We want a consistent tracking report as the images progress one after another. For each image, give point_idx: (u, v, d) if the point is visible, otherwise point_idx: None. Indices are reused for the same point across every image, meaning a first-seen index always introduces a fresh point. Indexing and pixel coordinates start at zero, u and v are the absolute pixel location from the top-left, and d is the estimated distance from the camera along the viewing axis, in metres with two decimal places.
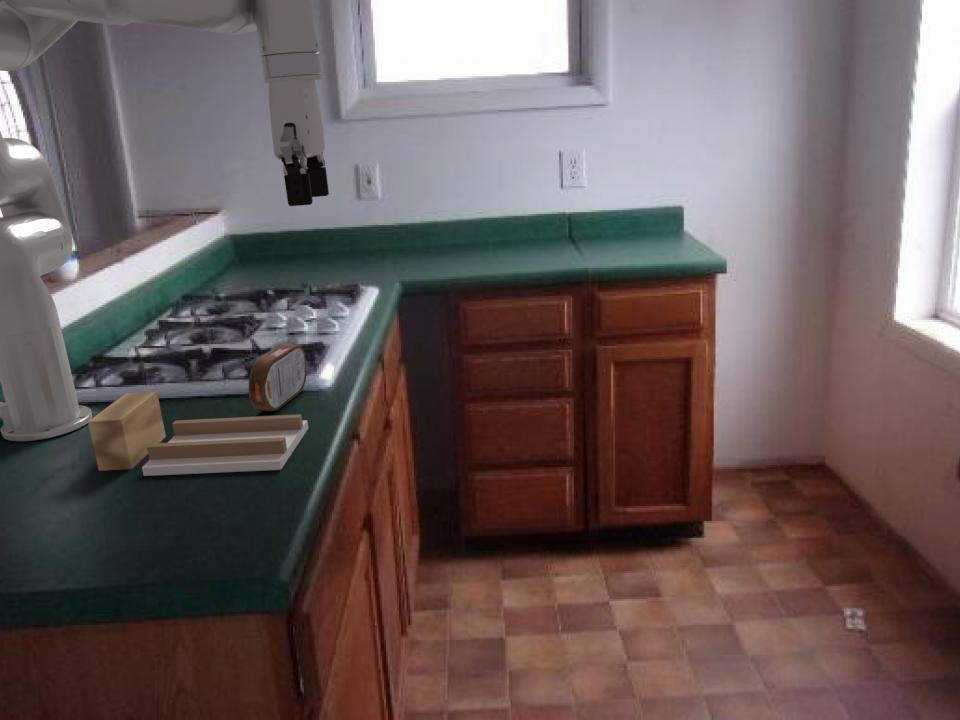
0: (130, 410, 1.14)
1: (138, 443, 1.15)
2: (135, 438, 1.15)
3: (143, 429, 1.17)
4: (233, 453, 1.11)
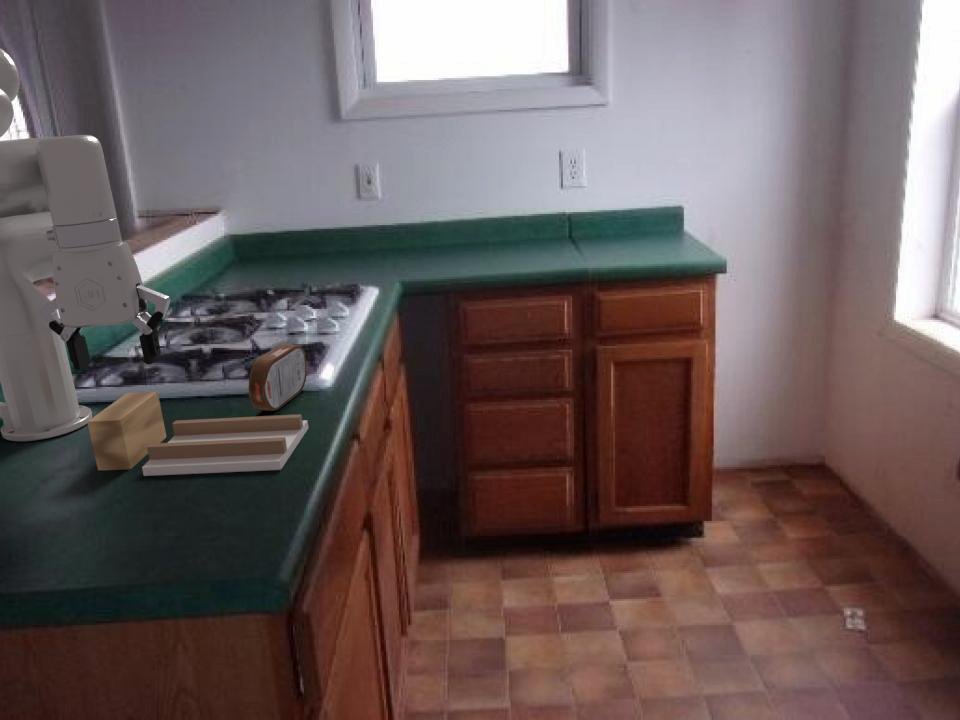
0: (129, 410, 1.14)
1: (137, 443, 1.15)
2: (135, 439, 1.15)
3: (143, 429, 1.17)
4: (233, 453, 1.11)
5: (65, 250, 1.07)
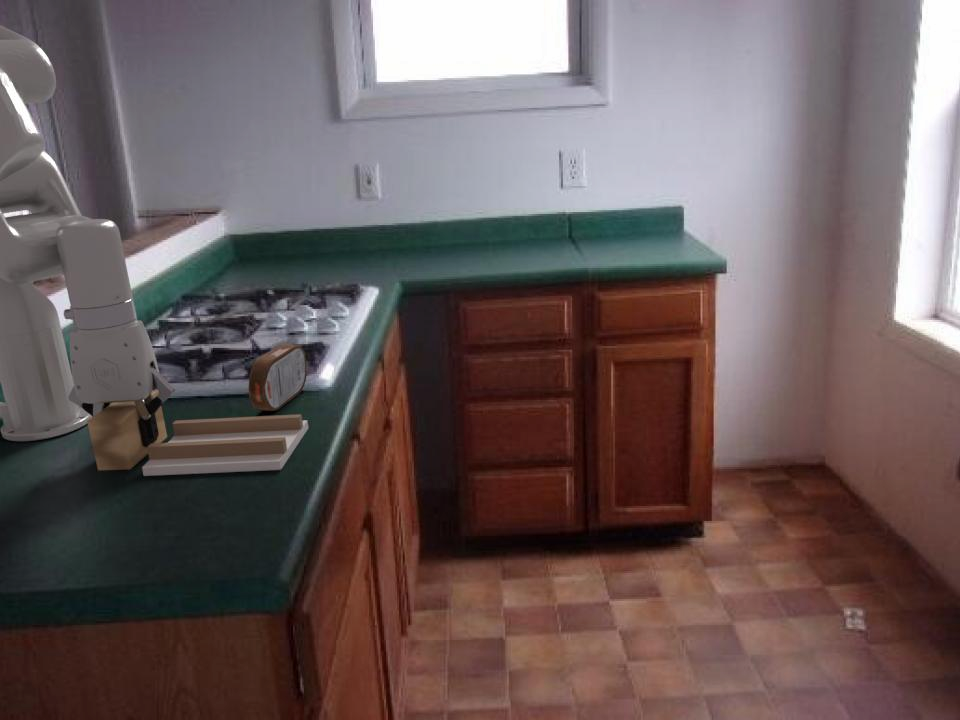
0: (129, 410, 1.14)
1: (137, 442, 1.15)
2: (134, 438, 1.14)
3: None
4: (233, 453, 1.11)
5: (82, 331, 1.10)
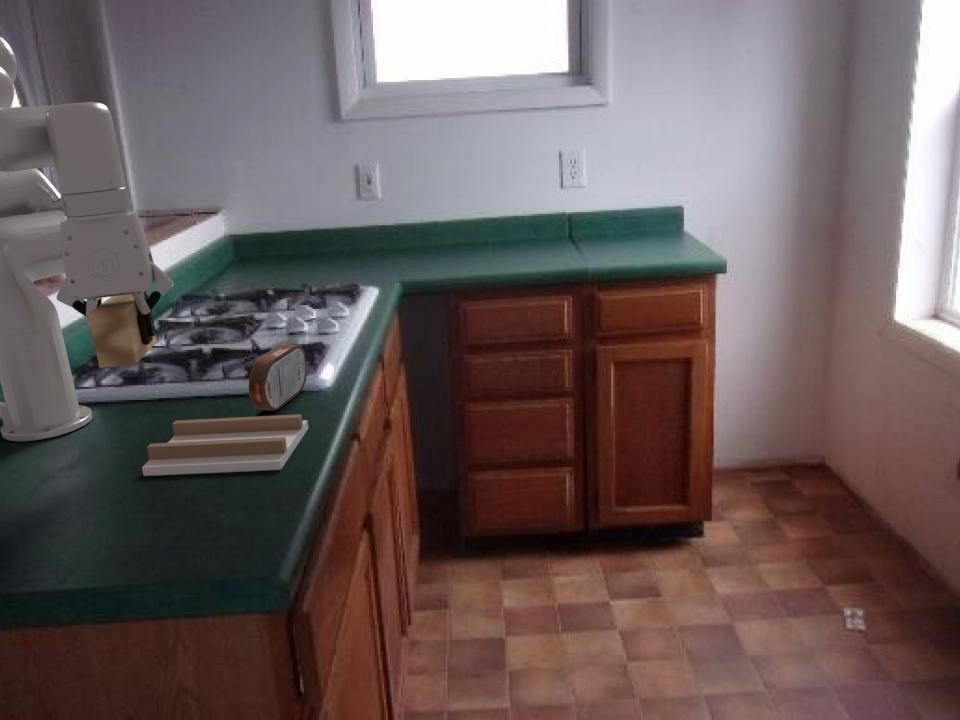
0: (129, 304, 1.10)
1: (138, 338, 1.11)
2: (136, 333, 1.10)
3: None
4: (233, 453, 1.11)
5: (79, 219, 1.05)
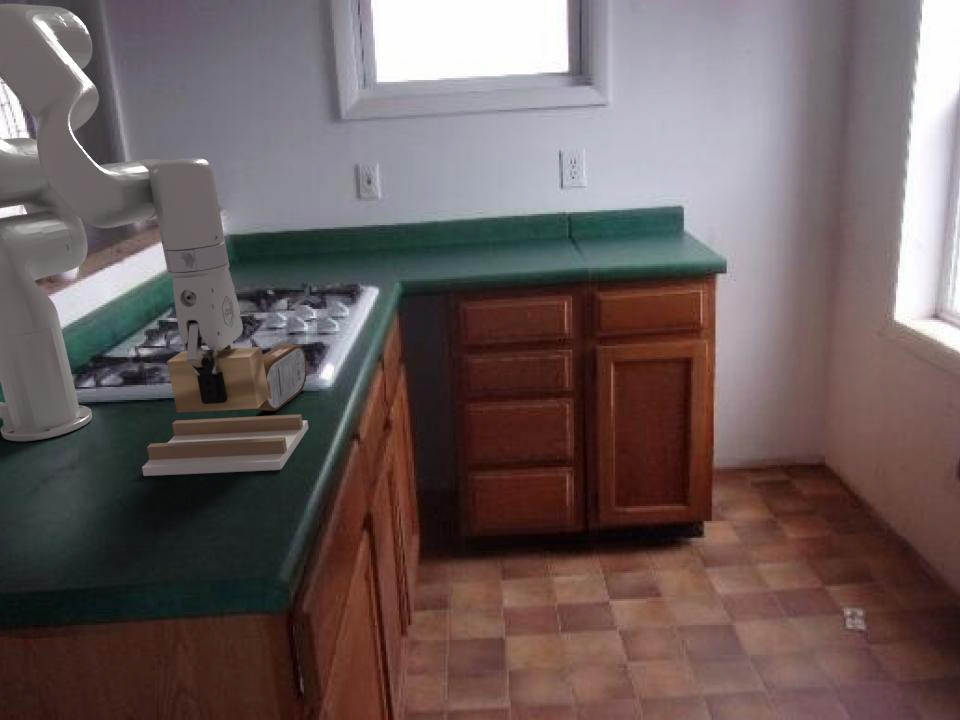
0: (234, 349, 1.14)
1: None
2: None
3: None
4: (233, 453, 1.11)
5: (220, 268, 1.07)
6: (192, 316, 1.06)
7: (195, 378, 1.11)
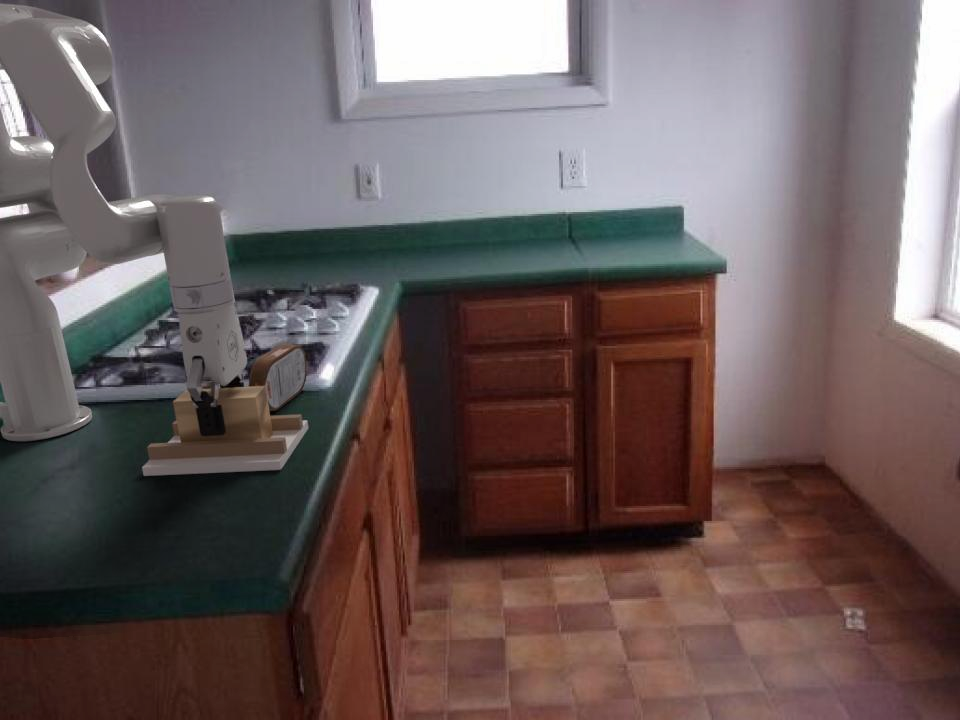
0: (239, 388, 1.16)
1: None
2: None
3: None
4: (233, 453, 1.11)
5: (226, 305, 1.09)
6: (198, 352, 1.07)
7: None
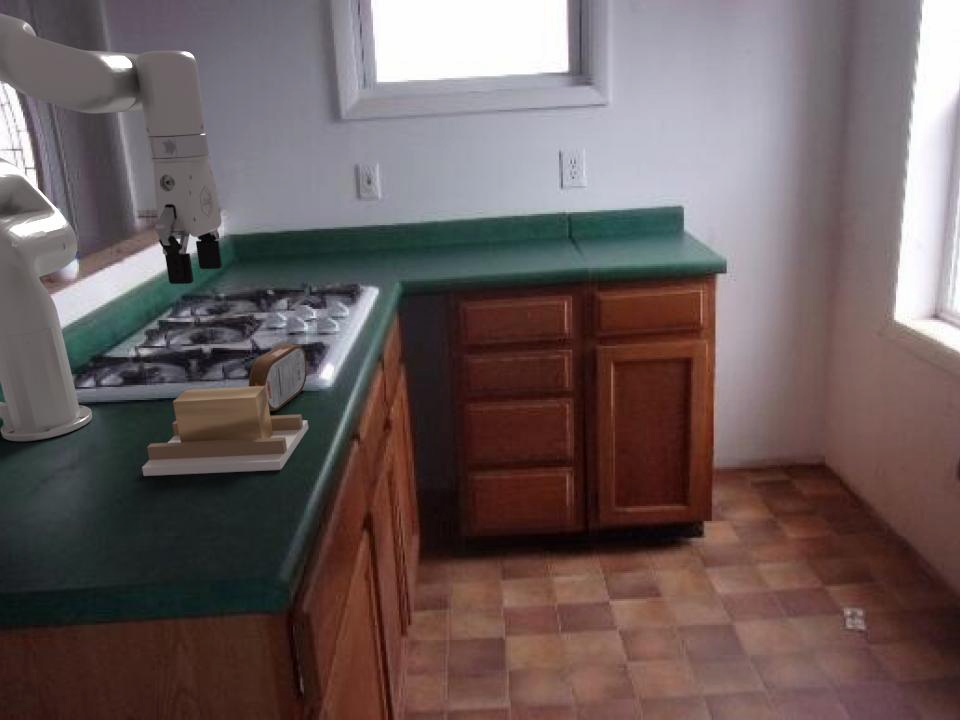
0: (239, 388, 1.16)
1: None
2: None
3: None
4: (233, 453, 1.11)
5: (200, 158, 1.13)
6: (170, 200, 1.12)
7: (201, 418, 1.13)
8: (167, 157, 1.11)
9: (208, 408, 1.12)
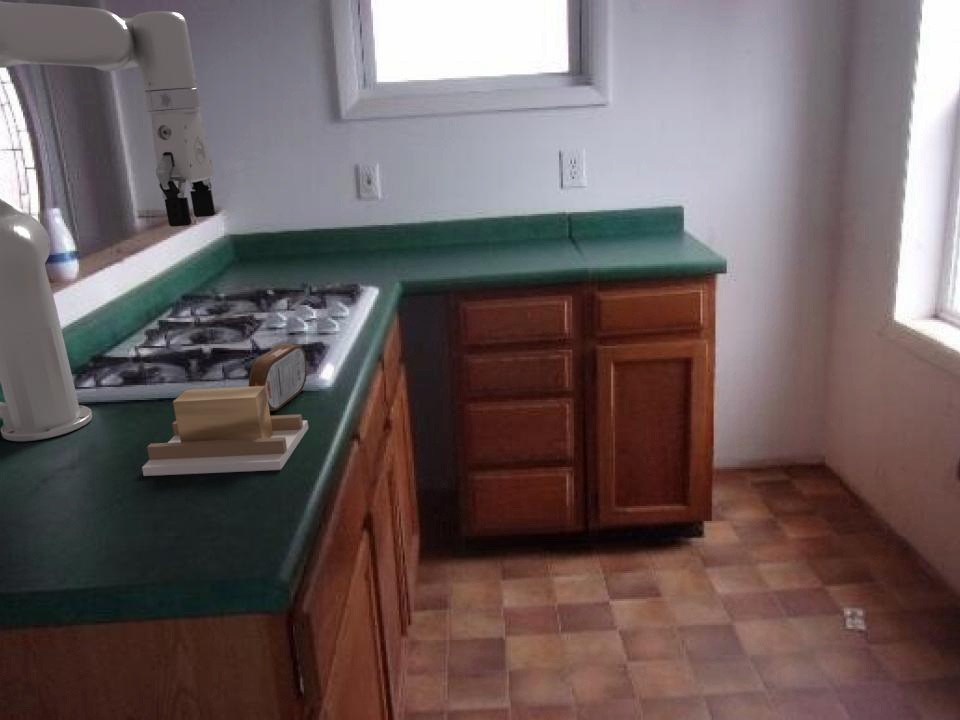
0: (239, 388, 1.16)
1: None
2: None
3: None
4: (233, 453, 1.11)
5: (193, 110, 1.24)
6: (167, 148, 1.23)
7: (201, 418, 1.13)
8: (163, 109, 1.22)
9: (208, 408, 1.12)
